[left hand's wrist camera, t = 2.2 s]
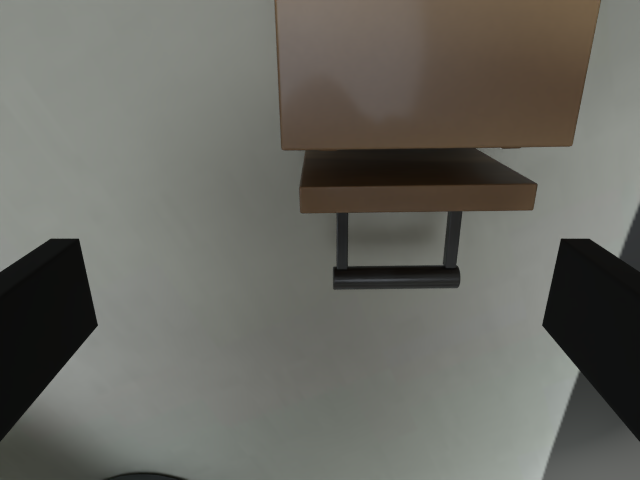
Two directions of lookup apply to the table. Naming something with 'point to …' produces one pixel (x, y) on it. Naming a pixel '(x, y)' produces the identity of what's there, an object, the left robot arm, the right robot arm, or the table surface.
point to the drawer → (408, 201)
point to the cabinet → (431, 72)
